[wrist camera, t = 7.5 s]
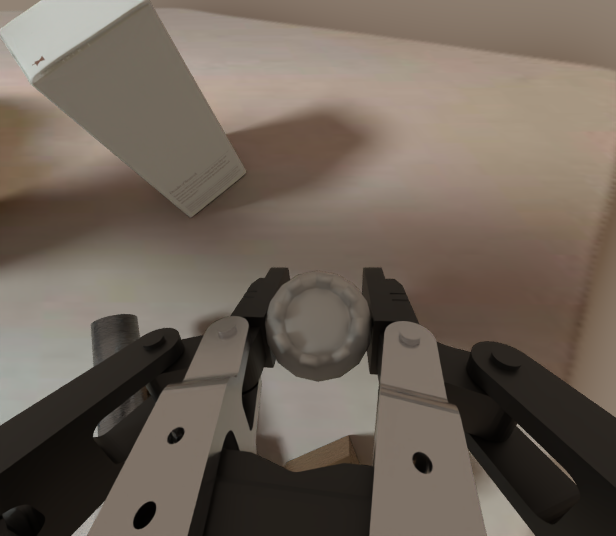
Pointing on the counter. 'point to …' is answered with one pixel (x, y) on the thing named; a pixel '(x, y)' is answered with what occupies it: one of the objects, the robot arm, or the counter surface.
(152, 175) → the supplement box
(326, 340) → the rook chess piece
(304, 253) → the counter surface
